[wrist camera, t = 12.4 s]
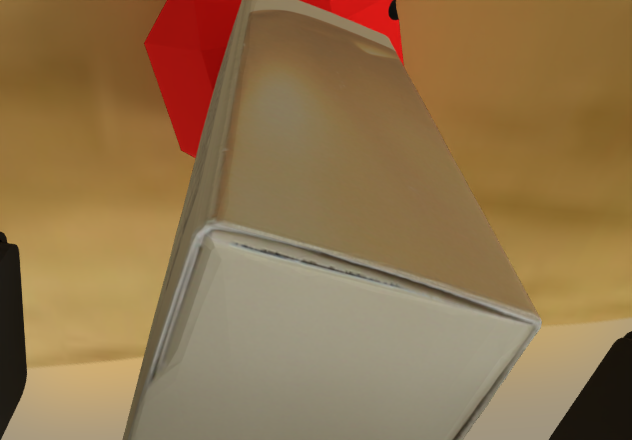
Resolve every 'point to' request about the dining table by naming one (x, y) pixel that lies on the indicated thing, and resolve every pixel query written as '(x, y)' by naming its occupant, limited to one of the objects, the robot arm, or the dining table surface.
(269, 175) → the skincare box
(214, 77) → the ball
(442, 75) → the dining table surface
